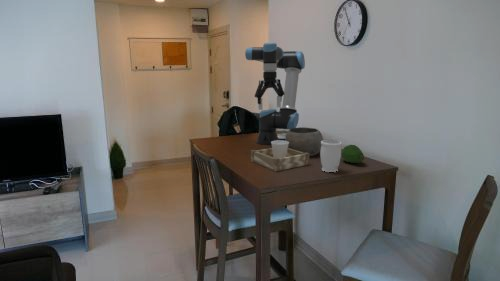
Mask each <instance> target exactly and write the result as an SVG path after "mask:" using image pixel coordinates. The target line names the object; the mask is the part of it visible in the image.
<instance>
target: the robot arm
mask: <svg viewBox="0 0 500 281" xmlns="http://www.w3.org/2000/svg"><path fill="white" fill-rule="evenodd" d="M244 56H245V58H246V61H256V62H260V63H262V64H263V65H262V66H263V67H262V68H263V69H262V70H263V74H262V76H263V80H261V79H260V80H258V86H257V88H256V91H255V94H254V98H256V99H257V105H258V110H259V117H258V118H259V120H258V122H259V123H258V126H259V131H258V135H257V138H256V143H257V144H259V145H262V146H263V145H265V146H266V145H267V146H268V145H269V146H272V144H271V142H272V141H277V140H279V137H278V134H277V129H279V130H288V131H289V130H290V129H292V128H297V127H298V124H299V119H300V114H299V112H298V110H297V108H296V101H297V94H298V92H297V91H298V85H299V84H298V83H299V75H300V74H301V73H302V70H303V69H305V66H306V61H305V55H304V53H303V51H299V50H296V51H295V50H293V51H287V50H286V51H284V49H283V48H282V47H281V46H278V45H277V43H276V42H264V44H263V47H262V46H257V47H256V46H253V47H252V46H251V47H247V48H246V49H245V52H244ZM278 69H284V72H285V80H284V87H283V86H282V84H281V79H279V78H278V77H277V75H278V74H277V70H278ZM277 78H278V79H277ZM268 89H273V91H274V92H275V94H276V95H277V96H276V108H278V109H279V111H277V109H276V108H274V109H273V108H270V109H264V110H263V98H262V97H263V96H264V94H265V92H266V91H267V90H268ZM282 97H283V98H282Z"/></svg>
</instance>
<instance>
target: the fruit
mask: <svg viewBox="0 0 500 281" xmlns="http://www.w3.org/2000/svg"><path fill="white" fill-rule="evenodd" d="M341 158H342V159H343V161H345V162H347V163H349V162H350V163H349V164H356V163H361V162H363V161H364V160H365V156H364V153H363V151H362V150H361V149H360V148H359V146H357V145H356V144H349V145H345V146H344V147H343V148H342V149H341Z"/></svg>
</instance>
